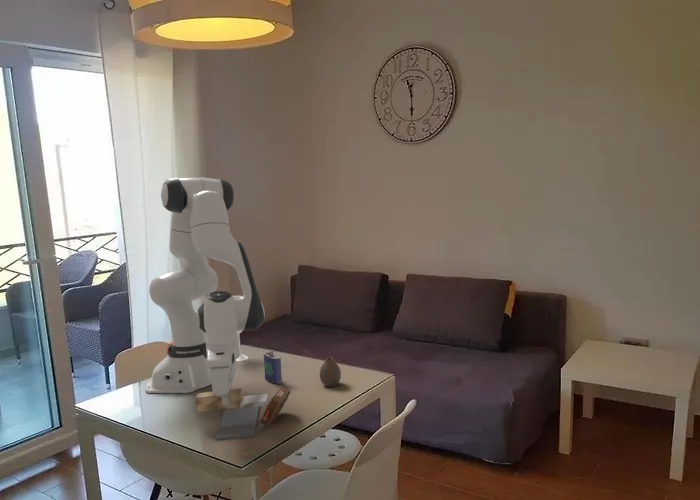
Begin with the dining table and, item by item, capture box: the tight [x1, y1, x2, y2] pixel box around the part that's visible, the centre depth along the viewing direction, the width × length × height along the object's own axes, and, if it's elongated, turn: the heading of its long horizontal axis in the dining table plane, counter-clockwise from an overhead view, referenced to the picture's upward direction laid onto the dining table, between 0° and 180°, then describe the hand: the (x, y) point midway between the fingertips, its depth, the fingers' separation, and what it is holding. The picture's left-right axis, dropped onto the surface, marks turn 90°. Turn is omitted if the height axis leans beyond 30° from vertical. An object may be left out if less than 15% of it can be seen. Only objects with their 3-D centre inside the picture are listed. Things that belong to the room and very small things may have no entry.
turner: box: [194, 388, 269, 413], centre depth 162 cm, size 19×6×4 cm, turn 94°
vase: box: [319, 357, 342, 388], centre depth 191 cm, size 7×7×9 cm
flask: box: [263, 349, 283, 385], centre depth 197 cm, size 9×3×11 cm, turn 37°
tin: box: [259, 386, 291, 428], centre depth 164 cm, size 15×3×8 cm
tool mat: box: [215, 406, 261, 441], centre depth 165 cm, size 10×22×1 cm, turn 5°
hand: (227, 400), depth 162 cm, fingers closed on turner, 3 cm apart
